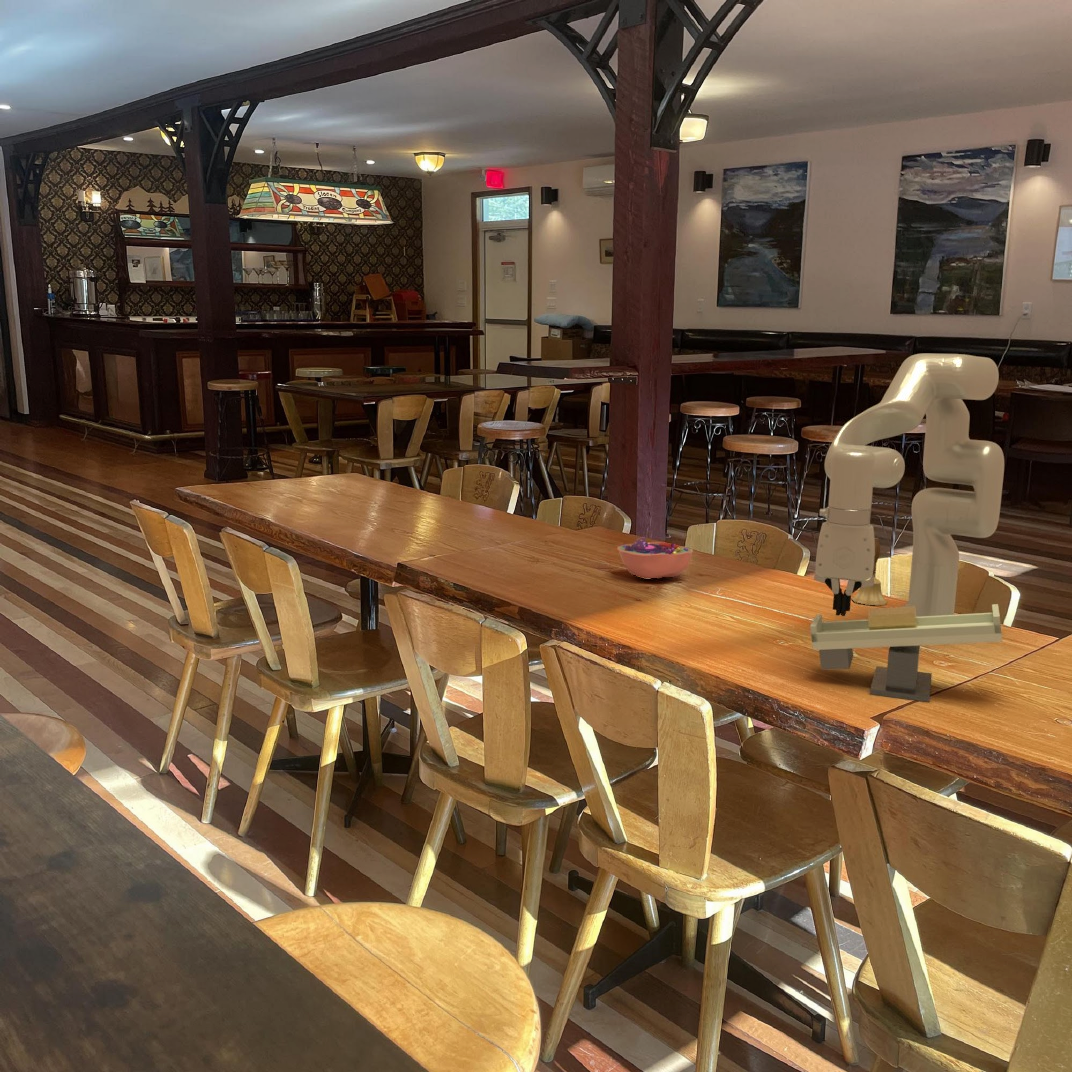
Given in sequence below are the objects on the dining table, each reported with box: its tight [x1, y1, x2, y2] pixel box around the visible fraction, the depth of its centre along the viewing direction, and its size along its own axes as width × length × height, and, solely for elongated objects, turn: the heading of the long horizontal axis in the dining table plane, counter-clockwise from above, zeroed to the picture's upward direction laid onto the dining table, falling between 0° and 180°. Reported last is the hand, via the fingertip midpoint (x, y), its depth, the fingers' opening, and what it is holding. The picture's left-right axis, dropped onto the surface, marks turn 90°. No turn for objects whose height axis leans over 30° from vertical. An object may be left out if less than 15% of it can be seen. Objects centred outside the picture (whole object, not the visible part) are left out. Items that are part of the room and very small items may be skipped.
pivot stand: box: [869, 645, 933, 703], centre depth 185 cm, size 10×14×8 cm
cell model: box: [616, 536, 694, 579], centre depth 266 cm, size 17×20×11 cm
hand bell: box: [851, 537, 888, 607], centre depth 245 cm, size 8×8×16 cm
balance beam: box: [809, 603, 1003, 671], centre depth 184 cm, size 32×9×8 cm, turn 68°
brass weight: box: [867, 606, 918, 630], centre depth 184 cm, size 8×5×4 cm, turn 68°
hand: (841, 614), depth 187 cm, fingers closed
